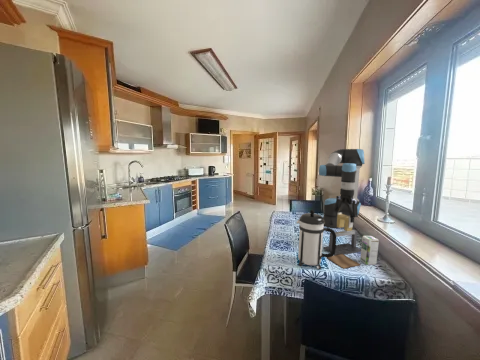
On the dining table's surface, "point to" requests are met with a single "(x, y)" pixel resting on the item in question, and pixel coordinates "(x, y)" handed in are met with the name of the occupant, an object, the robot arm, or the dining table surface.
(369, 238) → the syrup box
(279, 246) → the dining table surface
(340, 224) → the c link
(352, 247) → the stand
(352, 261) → the coaster
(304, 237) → the coffee press
